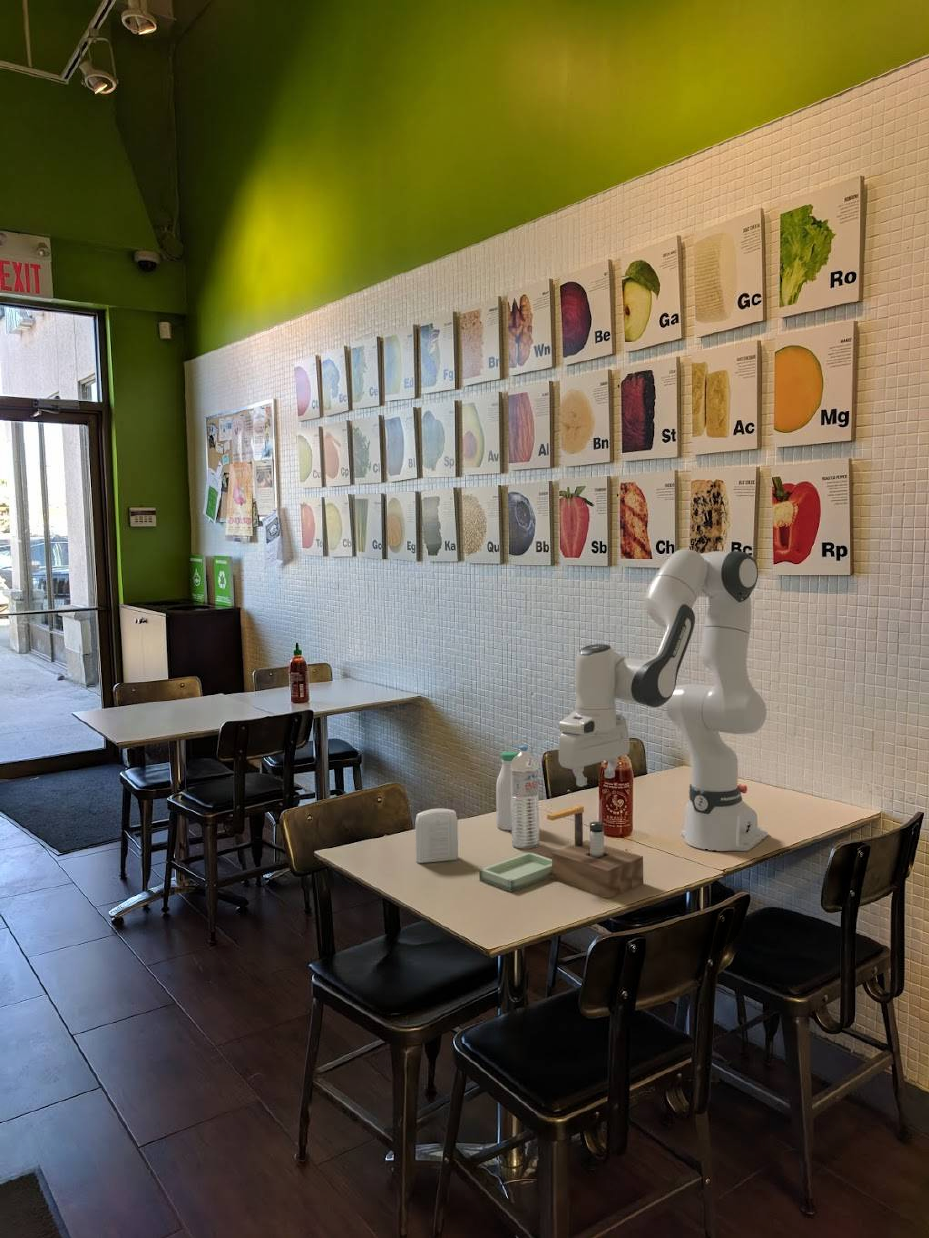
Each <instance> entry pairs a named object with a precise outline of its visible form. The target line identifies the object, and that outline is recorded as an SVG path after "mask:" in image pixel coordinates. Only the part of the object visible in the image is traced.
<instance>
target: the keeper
mask: <svg viewBox="0 0 929 1238" xmlns="http://www.w3.org/2000/svg"><path fill="white" fill-rule="evenodd" d="M584 812H585V807H584V806H581V805H574V806H573V807H570V808H566V809H562V810H559V811H555V812H551V813H548V814H546V819H547V820H548V821H556V820H559V819H563V818H567V817H570V816H575V814H577V813H582V814H583V813H584Z"/></svg>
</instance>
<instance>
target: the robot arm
mask: <svg viewBox="0 0 929 1238" xmlns="http://www.w3.org/2000/svg"><path fill="white" fill-rule="evenodd" d="M758 578H759V568H758V565H757V562H756V561H755V559H754V557H753V556H752V555H751V554H749V553H747V552H743V551H738V550H732V551H724V550H722V551H719V550H716V551H715V550H714V551H713V550H712V551H709V552H702V553H698V552H697V551H696V550H695V551H694V550H692V549H688V548H683V549H678V550H676V551H674V552H673V553H672V554H671V555H670V556H669V557H668V558H667V560H665V562H664V563H663V564H662V565H661V567H660V568H659V569H658V571H657V572H656V574H655V576H653V578H652V580H651V581H650V584H648V587H647V588H646V590H645V594H644V595H643V604H644V608H645V610H646V613H647V614H648V616H649V617H650V618H651V619H652V620H653V622H655V623H656V624H657V625H659V626H661V627H662V628H664V629H665V633H664V635H663V637H662V639H661V642H660V645H659V647H658V650H657V652H656V654H655V655H654V656H653V657H650V658H647V659H643V658H634V657H628V656H627V657H626V656H624V655H622V654H619V653H617V652H616V651H614V650H613V648H612V646H611V645H609V644H605V643H596V644H588V645H586V646H583V647H581V648H580V649H579V650H578V651H577V654H576V658H575V663H574V664H575V665H574V690H575V693H576V698H575V702H574V710H573V711H571V713H570V714H569V715H568V716H566V717H565V718H563V719H562V720H560V721H559V722H558V730H559V732H561V734H560V735H559V737H558V763H559V764H560V766H561V767H562V768H564V769H569V770H572V773H573V775H574V776H575V778H576V779H575V780H576V786H577V787H585V786H587V785H588V782H587V781H588V778H587V777H585V775H584V773H583V772H584V771H585V767H587V766H590V765H594V764H598V763H601V762H605V761H607V762H608V763H607V766H606V769H604V770H603V771H604V778H606V779H613V778H614V777H616V771H615V770H616V768H617V766H618V764H619V757H624V756H627V755H629V753H630V750H631V749H630V748H631V743H630V734H629V728H628V726H627V719H626V718H625V716H624V715H623V714H622V713H617V711H616V710H617V709H616V708H617V707H616V702H615V701H616V700H620V701H624V702H631V703H637V704H639V705H643V706H647V707H649V708H659V707H661V706H663V705H664V707H665V713H666V715H667V716H668V718H669V721H671V722H672V723H673V724H674V725H675V726H676V727H677V728H678V729H679V731H680V733H681V734H682V736H683V738H684V740H685V743H686V746H687V749H688V752H689V758H690V760H689V761H690V772H691V773H690V776H691V782H690V784H689V790H688V794H689V796H688V797H689V800H690V801H689V802H688V803H687V804H686V809H685V810H686V811H685V822H684V828H683V829H682V830H681V832H680V835H681V834H682V835H683V836H682V835H681V836H682V837H684V842H685V843H686V844H687V845H689V846H691V847H694V848H696V849H697V848H698V849H700V850H705V849H708V850H707V851H713V850H716V852H727V851H729V852H730V851H737V852H748V850H749V851H750V850H751V849H753V848H754V847H755V846H756V845H758V844H759V843H760V842H762V841H763V840H764V839H766V837H768V834H769V833H768V831H767V830H766V829H764V828H762V827H759V823H758V815H757V812H756V811H755V810H754V809H753V808H751V806H749V805H748V803H746V802H744V801H743V797H742V794H747V791H748V790H749V789H748V788H749V787H748V786H747V785H746V784H741V783H739V781H738V779H739V773H738V772H739V771H738V769H739V766H738V765H739V762H738V761H739V760H738V756H737V753H735V751H734V750H733V749H732V748H731V747H730V746H728V745H727V744H726V743H725V742H724V740H723V739H722V737H721V736H720V733H725V734H732V735H747V734H755V733H757V732H758V731H759V730H760V729H761V728H762V727H763V726H764V724H765V721H766V718H767V706H766V703H765V700H764V699H763V697H762V696H761V695H760V693H758V692H757V691H756V689H755V688H754V686H753V685H752V682H751V680H750V678H749V675H748V670H747V666H748V665H747V659H748V648H749V640H750V634H751V627H752V626H751V625H752V600H751V597H750V596H751V595H752V593H753V590H754V589H755V587H756V585H757V582H758ZM698 597H700V598H707V599H708V609H707V612H706V615H705V619H704V625H703V630H702V636H701V642H700V643H701V644H700V649H699V658H700V661H701V662H702V664H703V666H704V667H706V668H707V669H709V670H710V671H711V672H712V673H713V676H714V685H710V684H709V685H708V684H701V683H685V684H678V685H677V679H678V675H679V671H680V669H681V668H680V667H681V665H682V662H683V660H684V657H685V654H686V652H687V650H688V647H689V643H690V641H691V638H692V637H693V636H692V635H693V633H694V629H695V624H696V615H695V612H694V611H693V610H694V609H693V606H694V604H695V602H696V601H697V599H698ZM616 713H617V714H616ZM719 732H720V733H719ZM738 783H739V784H738ZM762 839H763V840H762ZM757 843H758V844H757Z"/></svg>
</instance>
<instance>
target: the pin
mask: <svg viewBox="0 0 929 1238" xmlns="http://www.w3.org/2000/svg"><path fill="white" fill-rule="evenodd" d="M604 828H605V827H604V823H603V822H602V821H591V822H590V823H589V841H590V857H593V858H597V859H600V858H602V857H604V845H605V841H604V840H605V839H604V835H605V831H604Z"/></svg>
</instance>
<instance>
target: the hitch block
mask: <svg viewBox="0 0 929 1238" xmlns="http://www.w3.org/2000/svg"><path fill="white" fill-rule="evenodd" d="M583 824H584V822H583V813H577V814H574V844H572V845H569V846H566V847H563V848H561V849H558V850H555V851H552V852H551V859H552V877H551V878H552V880H555V881H558V882H560V883H562V884H567V885H569V886H571V887H574V888H578V889H580V888H581V889H580V890H583V889H584V891H586V892H590V893H592V894H594V895H598V896H600V897H604V898H607V899H611V898H613V897H616V896H617V895H619V894H621V893H624V892H627V891H629V890H631V889H634V888H635V887H637V886H641V885H642V884H644V856H642V855H640V854H636V853H633V852H629V851H626V850H622V849H620V848H619V849H618V848H615V847H613V846H612V847H611V846H609V845H605V844H604V857H602V858H600V859H597V858H593V857H590V839H587V840H584V837H583V836H584V835H583V834H584V831H583V830H584V827H583Z"/></svg>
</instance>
